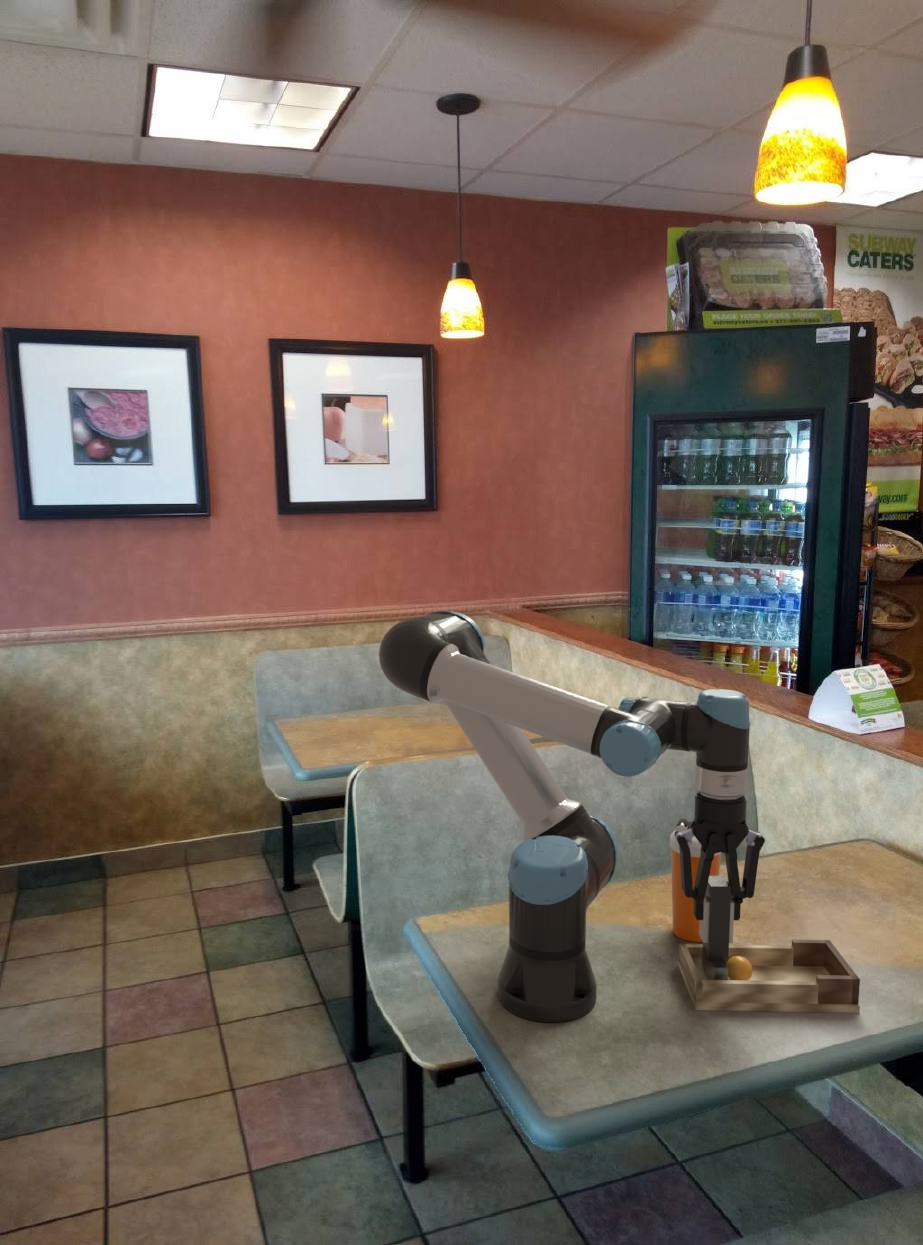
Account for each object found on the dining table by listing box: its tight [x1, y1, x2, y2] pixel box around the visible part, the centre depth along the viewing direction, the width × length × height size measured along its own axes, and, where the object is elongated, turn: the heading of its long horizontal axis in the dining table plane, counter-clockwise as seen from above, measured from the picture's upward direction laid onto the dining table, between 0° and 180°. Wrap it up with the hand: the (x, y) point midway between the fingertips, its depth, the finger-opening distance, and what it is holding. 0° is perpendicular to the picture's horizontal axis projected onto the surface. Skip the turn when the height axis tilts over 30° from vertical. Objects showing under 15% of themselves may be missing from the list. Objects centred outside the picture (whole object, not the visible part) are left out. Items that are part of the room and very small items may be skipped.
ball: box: [727, 956, 753, 980], centre depth 140 cm, size 4×4×4 cm
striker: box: [702, 875, 731, 980], centre depth 139 cm, size 3×8×16 cm, turn 178°
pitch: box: [677, 939, 861, 1014], centre depth 140 cm, size 24×13×5 cm, turn 88°
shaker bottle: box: [669, 817, 722, 943], centre depth 157 cm, size 9×9×20 cm
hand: (715, 938), depth 139 cm, fingers closed on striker, 3 cm apart
